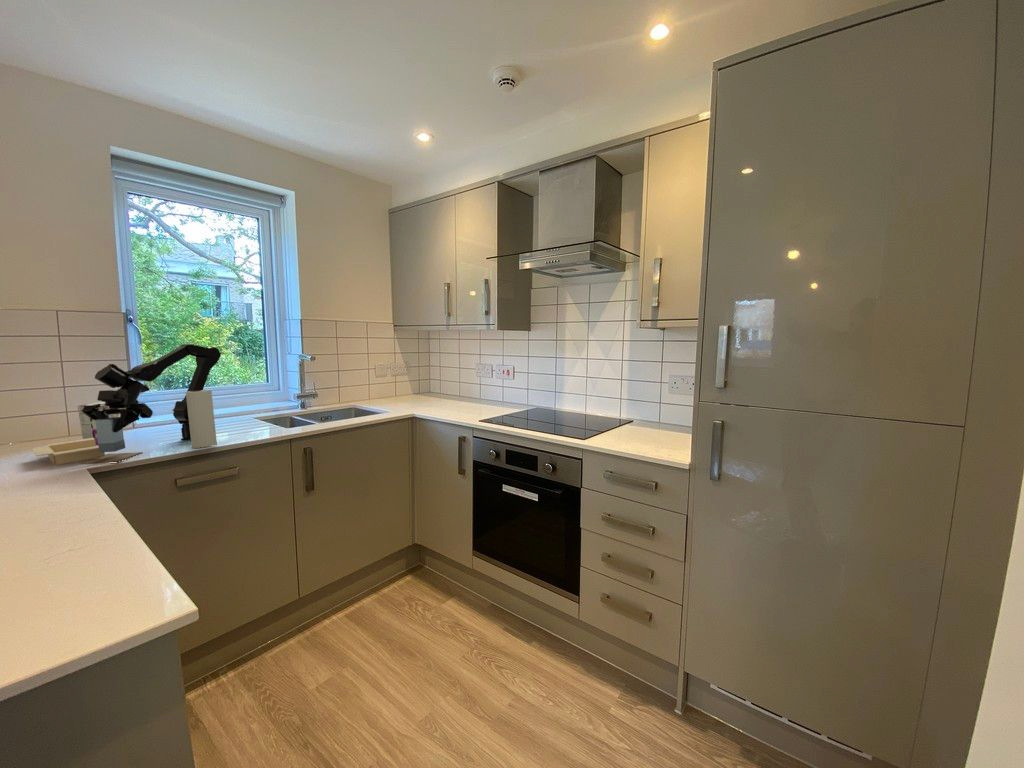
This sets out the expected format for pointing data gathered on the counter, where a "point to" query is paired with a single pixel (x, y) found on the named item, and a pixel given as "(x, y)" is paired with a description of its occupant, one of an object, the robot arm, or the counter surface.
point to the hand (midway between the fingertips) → (106, 432)
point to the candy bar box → (90, 422)
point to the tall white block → (201, 418)
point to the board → (111, 458)
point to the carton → (70, 451)
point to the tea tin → (109, 435)
